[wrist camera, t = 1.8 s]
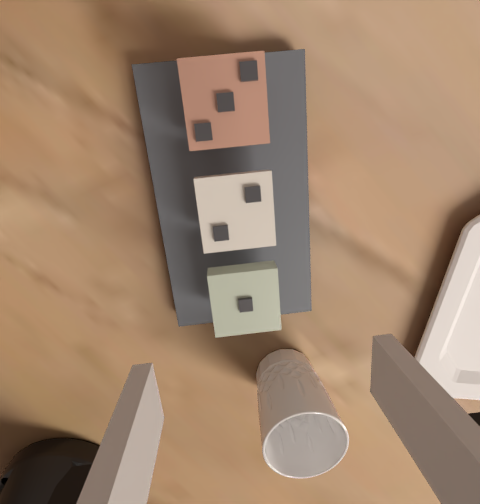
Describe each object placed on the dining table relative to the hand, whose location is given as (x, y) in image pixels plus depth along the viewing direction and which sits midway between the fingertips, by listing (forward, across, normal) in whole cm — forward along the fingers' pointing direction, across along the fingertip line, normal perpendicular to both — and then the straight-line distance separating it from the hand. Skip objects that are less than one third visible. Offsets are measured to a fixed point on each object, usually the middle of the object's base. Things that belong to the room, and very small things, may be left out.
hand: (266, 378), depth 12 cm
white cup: (+21, +4, -17) cm, 27 cm away
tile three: (+16, 0, +12) cm, 20 cm away
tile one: (+16, 0, -4) cm, 16 cm away
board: (+20, 0, +4) cm, 21 cm away
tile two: (+16, 0, +4) cm, 16 cm away
